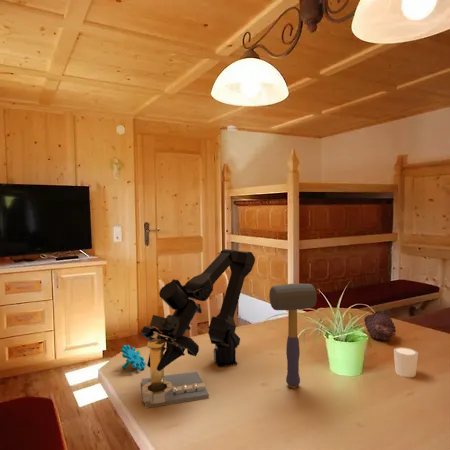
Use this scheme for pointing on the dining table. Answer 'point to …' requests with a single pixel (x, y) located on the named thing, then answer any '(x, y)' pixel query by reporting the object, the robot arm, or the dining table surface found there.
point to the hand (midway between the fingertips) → (153, 368)
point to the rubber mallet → (292, 320)
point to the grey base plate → (179, 381)
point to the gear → (132, 357)
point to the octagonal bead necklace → (168, 391)
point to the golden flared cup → (156, 364)
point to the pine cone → (380, 326)
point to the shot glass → (405, 361)
